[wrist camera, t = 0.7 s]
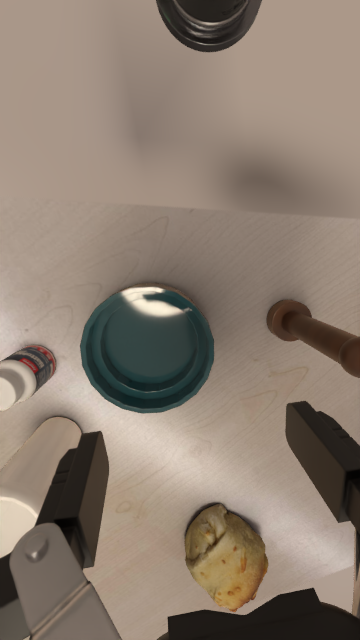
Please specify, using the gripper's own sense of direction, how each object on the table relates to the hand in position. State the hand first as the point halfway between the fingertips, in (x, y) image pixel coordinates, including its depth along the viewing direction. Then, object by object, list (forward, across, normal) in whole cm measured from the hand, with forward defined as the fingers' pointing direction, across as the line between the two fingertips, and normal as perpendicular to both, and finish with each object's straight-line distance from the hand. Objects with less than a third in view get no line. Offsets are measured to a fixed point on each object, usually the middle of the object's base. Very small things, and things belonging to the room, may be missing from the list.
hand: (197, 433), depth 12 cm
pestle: (+24, -16, +5) cm, 29 cm away
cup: (+24, +17, +18) cm, 35 cm away
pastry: (+21, -5, +40) cm, 45 cm away
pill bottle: (+26, +18, +7) cm, 32 cm away
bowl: (+25, +3, +6) cm, 26 cm away
